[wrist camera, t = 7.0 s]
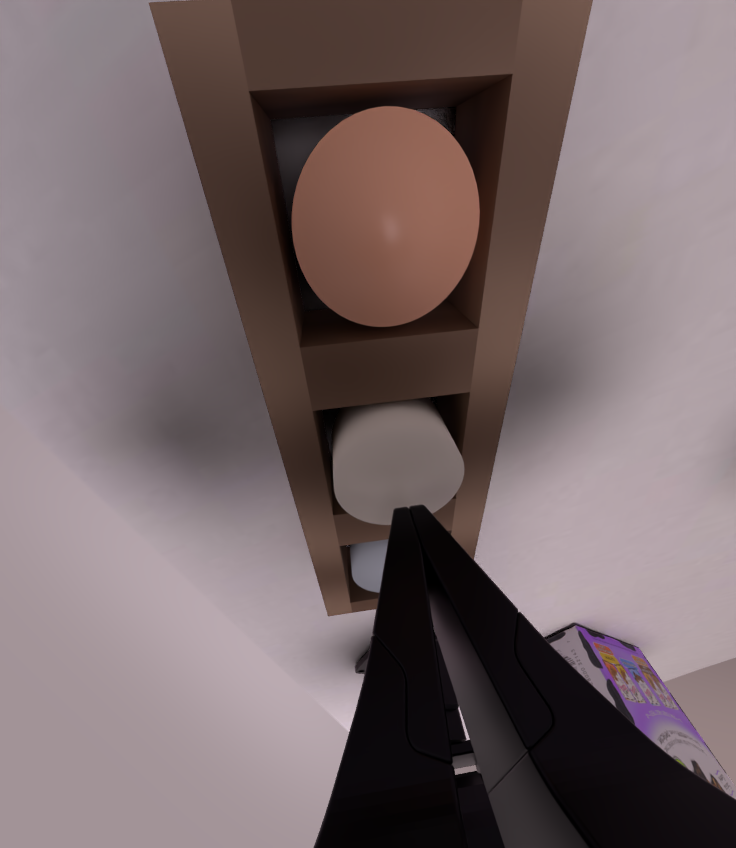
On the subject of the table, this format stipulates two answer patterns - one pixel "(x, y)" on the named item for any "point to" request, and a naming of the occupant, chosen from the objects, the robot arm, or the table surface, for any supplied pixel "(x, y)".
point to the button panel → (271, 239)
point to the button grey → (368, 563)
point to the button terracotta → (385, 216)
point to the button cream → (393, 459)
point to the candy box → (640, 698)
